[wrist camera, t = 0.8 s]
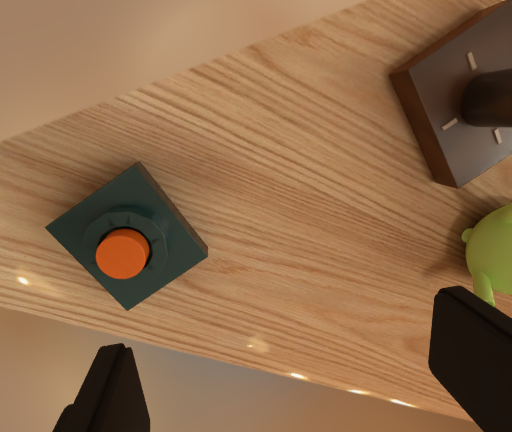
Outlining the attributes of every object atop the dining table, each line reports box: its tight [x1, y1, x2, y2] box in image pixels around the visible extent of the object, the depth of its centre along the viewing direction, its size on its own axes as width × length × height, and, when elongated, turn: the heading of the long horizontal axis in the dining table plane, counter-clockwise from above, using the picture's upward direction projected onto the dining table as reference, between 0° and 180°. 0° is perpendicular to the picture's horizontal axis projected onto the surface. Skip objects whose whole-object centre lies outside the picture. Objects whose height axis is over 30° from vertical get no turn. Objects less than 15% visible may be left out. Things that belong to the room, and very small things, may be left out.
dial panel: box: [389, 0, 512, 189], centre depth 28 cm, size 12×10×3 cm
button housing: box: [45, 162, 208, 311], centre depth 27 cm, size 10×9×4 cm
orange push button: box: [96, 229, 149, 279], centre depth 25 cm, size 4×4×2 cm
